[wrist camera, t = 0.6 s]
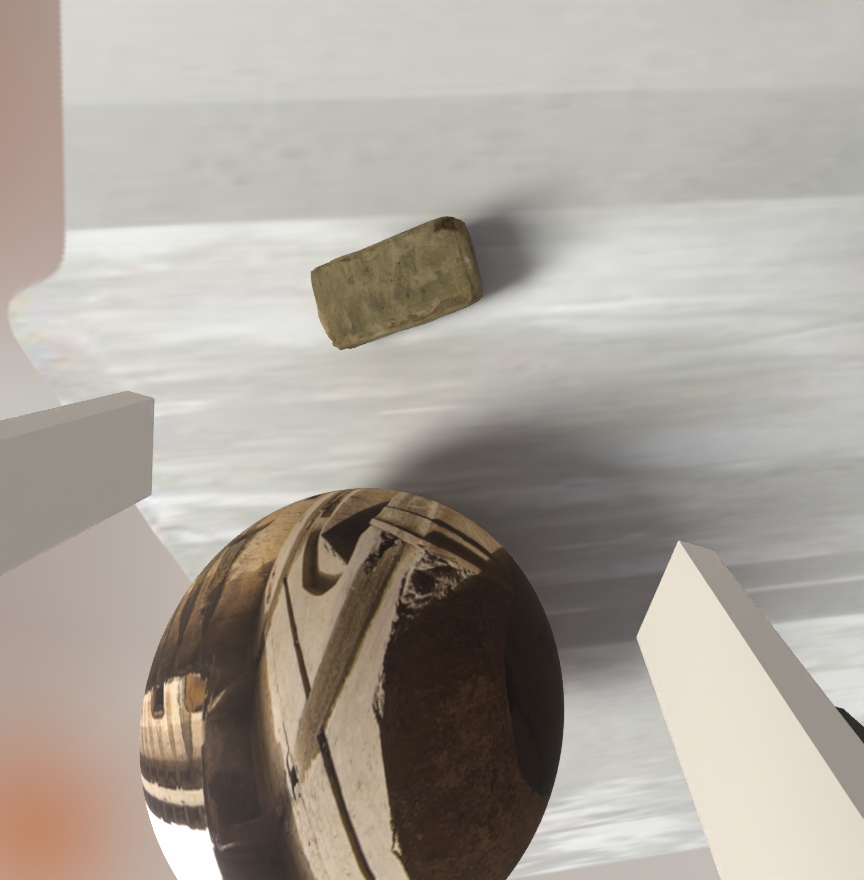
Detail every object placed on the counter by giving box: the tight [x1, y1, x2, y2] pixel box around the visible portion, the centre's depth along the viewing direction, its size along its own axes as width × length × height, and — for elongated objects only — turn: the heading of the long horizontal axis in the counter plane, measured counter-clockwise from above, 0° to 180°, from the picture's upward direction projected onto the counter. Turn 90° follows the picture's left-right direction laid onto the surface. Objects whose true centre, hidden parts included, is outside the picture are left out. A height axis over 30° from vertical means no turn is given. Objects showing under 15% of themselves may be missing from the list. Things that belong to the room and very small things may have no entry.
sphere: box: [140, 488, 564, 880], centre depth 31 cm, size 25×25×25 cm
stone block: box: [311, 216, 483, 350], centre depth 33 cm, size 6×12×5 cm, turn 109°
